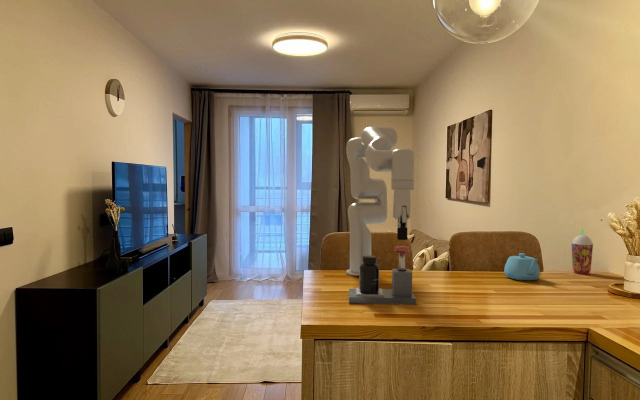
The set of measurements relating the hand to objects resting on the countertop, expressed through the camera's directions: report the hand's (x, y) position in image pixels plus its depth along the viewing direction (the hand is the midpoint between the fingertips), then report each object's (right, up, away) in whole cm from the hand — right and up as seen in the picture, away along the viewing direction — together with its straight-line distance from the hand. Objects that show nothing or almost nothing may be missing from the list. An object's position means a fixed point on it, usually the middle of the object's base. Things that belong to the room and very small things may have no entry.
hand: (402, 239), depth 144 cm
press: (-7, -21, +1) cm, 22 cm away
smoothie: (+89, -20, +46) cm, 102 cm away
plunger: (0, -14, +1) cm, 14 cm away
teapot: (+57, -20, +34) cm, 70 cm away
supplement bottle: (-11, -18, +2) cm, 21 cm away
